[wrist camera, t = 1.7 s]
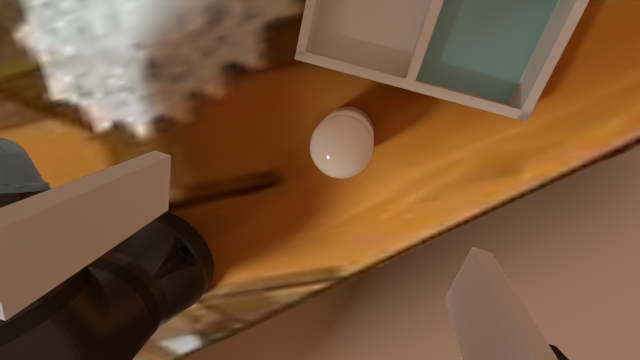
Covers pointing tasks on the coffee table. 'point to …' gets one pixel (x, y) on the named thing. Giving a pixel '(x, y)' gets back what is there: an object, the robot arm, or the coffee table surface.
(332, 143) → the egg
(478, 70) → the divided tray
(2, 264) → the robot arm
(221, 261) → the coffee table surface
